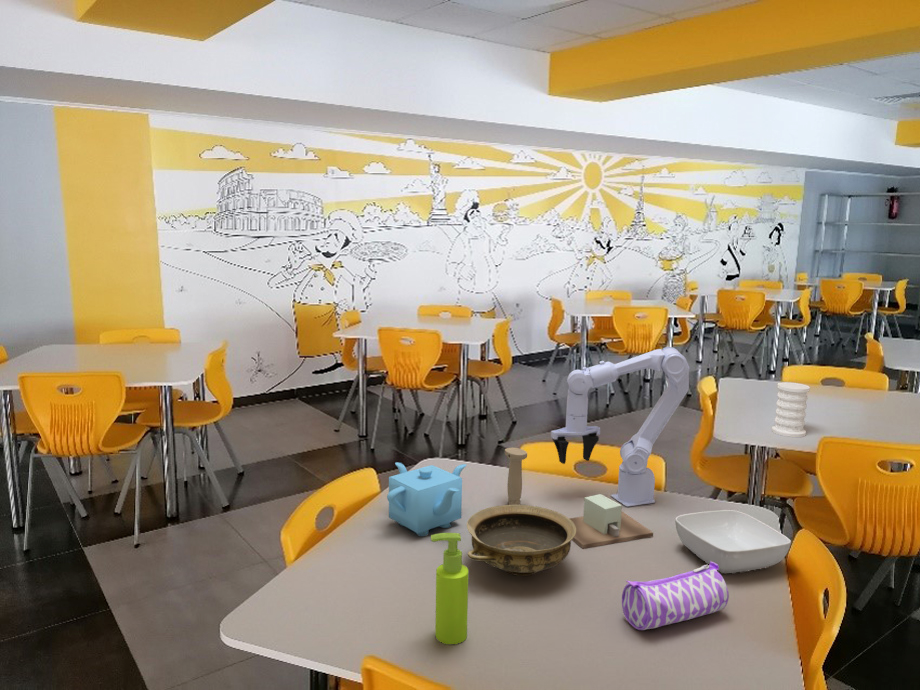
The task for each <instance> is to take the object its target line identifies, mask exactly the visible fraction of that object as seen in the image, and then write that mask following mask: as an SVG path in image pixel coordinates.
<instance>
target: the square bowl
mask: <svg viewBox="0 0 920 690" xmlns="http://www.w3.org/2000/svg"><path fill="white" fill-rule="evenodd" d="M675 529H676V533H677V536H678V537H679V539H680V541H681V542H682V544H683V545H684V546H685V547H686V548H688V549H689V551H691V552H692V553H693V554H694V555H695V554H696V555H695V556H696V557H698V558H699V559H700V560H702V561H703V562H704V561H705V562H704V563H706V565H707V564H709V565H710V561H711V562H714V563H716V564H718V566H719V569H718V571H717V572H719V571H720V572H721V573H720V572H719V573H720V574H723V573H732V574H736V573H735V572H740V573H743V572H742V571H747V572H749V571H748V570H754V571H756V570H755V569H760V568H765V567H768V568H770V567H772V566H775V565H778V564H779V563H780V562H781V561H782V560H784V559H785V557H786V556H787V554H788V552H789V550H790V548H791V547H790V546H791V544H792V540H791V539H790V538H789V537H787V536H786V535H785V534H783V533H781V532H780V531H778V530H776V529H775V528H773V527H771V526H770V525H768V524H767V523H764V522H763V521H761V520H759V519H757V518H755V517H753V516H752V515H749V514H748V513H745V512H741V511H739V510H736V509H735V510H734V509H733V510H732V509H722V510H720V509H719V510H718V509H717V510H708V511H707V510H706V511H700V512H691V513H685V514H680V515H677V516H676V517H675ZM769 566H770V567H769ZM765 569H766V568H765ZM760 570H761V569H760Z"/></svg>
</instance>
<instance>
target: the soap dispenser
mask: <svg viewBox="0 0 920 690" xmlns="http://www.w3.org/2000/svg"><path fill="white" fill-rule="evenodd" d="M430 541H432V542H433V543H435V542H440V541H441V542H443V541H447V545H448V546H447V548H446V549H445V550H444V551H443V553H442V554H443V555H442V556H443V557H442V558H443V559H442V564H439V566H437V568H436V570H435V572H436V573H435V629H434V630H435V632H434V635H435V636H436V637H435V639H436V638H437V639H438V640H439V641H440V643H441V642H442V643H441V644H444V645H448V644H455V645H459V644H461V642H462V643H463V642H464V641H466V639H467V637H468V634H467V633H468V611H469V610H468V605H469V604H468V602H469V601H468V599H469V568H468V567H467V566H466V565H464V564H463V552H462V550H461V549H459V548H458V543H459V542H461V541H462V537H461V533H459V532H439V533H434V534H431V535H430ZM437 639H436V640H437ZM438 640H437V641H438ZM439 641H438V642H439ZM458 643H459V644H458Z"/></svg>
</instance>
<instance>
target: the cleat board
mask: <svg viewBox="0 0 920 690" xmlns="http://www.w3.org/2000/svg"><path fill="white" fill-rule="evenodd" d="M568 518H569V517H568ZM569 519H570V520H571V521H572V522H573V523H574V525H575V527H576V534H575V536H574V538H573V539H572V540H571V541H573V543H575V544H576V545H578V546H579V547H580V548H581V549H583V550H584V549H588V548H596V547H600V546H605V545H612V544H618V543H623V542H628V541H635V540H641V539H646V538H651V537H654V532H653V531H652V530H650V529H649V528H647V527H646V526H644V525H643V524H641V522H638V520H635V519H634V518H633V517H632V516H629V515H628V514H627V513H625V512H624V511H621V526H620V530H619V528H617V527H616V526H615V525H613V524H612V523H609V524H608V528H607V534H603V533H601V532H599V531H598V530H596V529H594V528H593V527H591V526H589V525H588V524H586V523H584V522H583V515H582V516H576V517H570V518H569Z"/></svg>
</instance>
